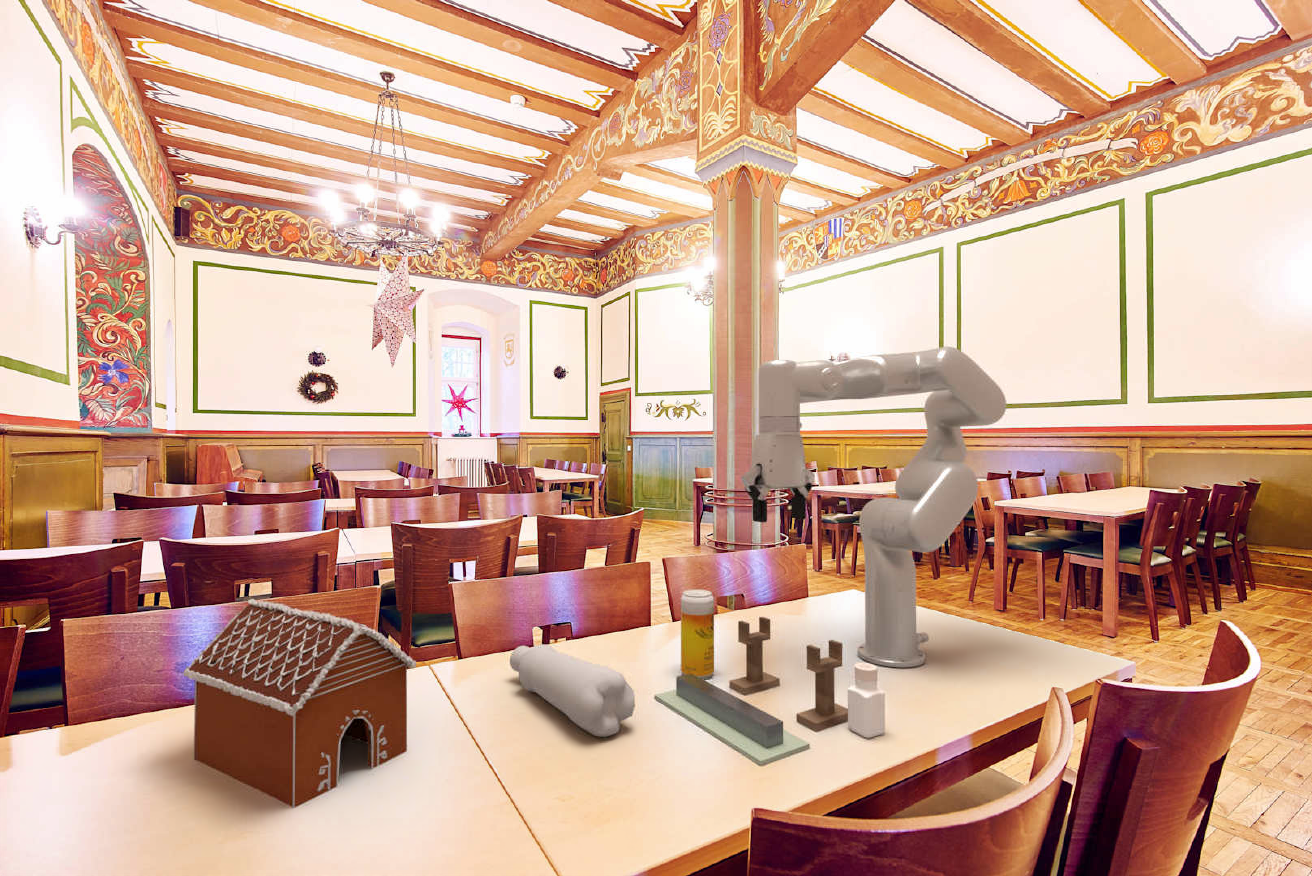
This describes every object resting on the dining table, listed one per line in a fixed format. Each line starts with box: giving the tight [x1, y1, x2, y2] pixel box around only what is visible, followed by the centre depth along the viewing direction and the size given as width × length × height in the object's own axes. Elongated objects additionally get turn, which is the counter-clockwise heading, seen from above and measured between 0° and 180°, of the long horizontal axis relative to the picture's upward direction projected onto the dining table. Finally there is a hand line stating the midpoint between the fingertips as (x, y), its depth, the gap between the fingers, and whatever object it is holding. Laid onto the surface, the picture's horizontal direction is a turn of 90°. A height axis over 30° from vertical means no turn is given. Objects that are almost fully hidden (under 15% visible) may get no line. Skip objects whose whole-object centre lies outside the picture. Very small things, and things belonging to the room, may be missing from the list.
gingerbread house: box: [182, 598, 417, 809], centre depth 84 cm, size 18×26×20 cm
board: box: [654, 689, 811, 766], centre depth 94 cm, size 9×26×1 cm, turn 32°
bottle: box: [509, 643, 636, 738], centre depth 100 cm, size 9×9×30 cm
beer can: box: [680, 589, 715, 680], centre depth 114 cm, size 6×6×15 cm
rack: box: [728, 616, 848, 732], centre depth 101 cm, size 8×20×12 cm, turn 32°
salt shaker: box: [847, 662, 886, 739], centre depth 91 cm, size 4×4×10 cm
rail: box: [675, 673, 784, 749], centre depth 94 cm, size 22×3×3 cm, turn 32°
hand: (779, 520), depth 114 cm, fingers open, 9 cm apart
